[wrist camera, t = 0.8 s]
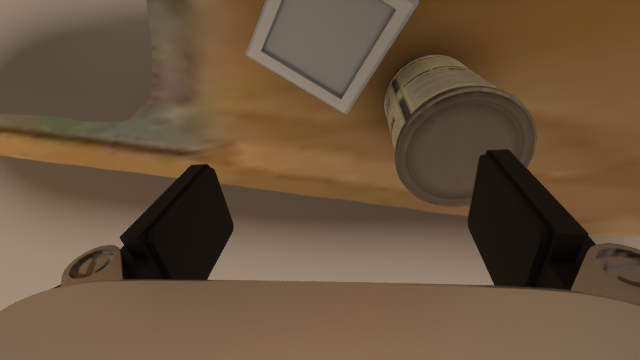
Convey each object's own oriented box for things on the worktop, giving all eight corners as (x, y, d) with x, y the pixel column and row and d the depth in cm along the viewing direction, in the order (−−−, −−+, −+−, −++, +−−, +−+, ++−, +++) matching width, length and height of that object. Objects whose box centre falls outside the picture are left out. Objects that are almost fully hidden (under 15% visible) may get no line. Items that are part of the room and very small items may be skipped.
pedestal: (307, -73, 28) (295, -88, 23) (411, 0, 30) (422, 2, 25) (259, 47, 34) (240, 57, 29) (348, 101, 36) (346, 119, 31)
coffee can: (486, 117, 35) (549, 180, 23) (403, 152, 39) (422, 222, 27) (459, 33, 31) (520, 59, 19) (369, 82, 35) (373, 128, 23)
